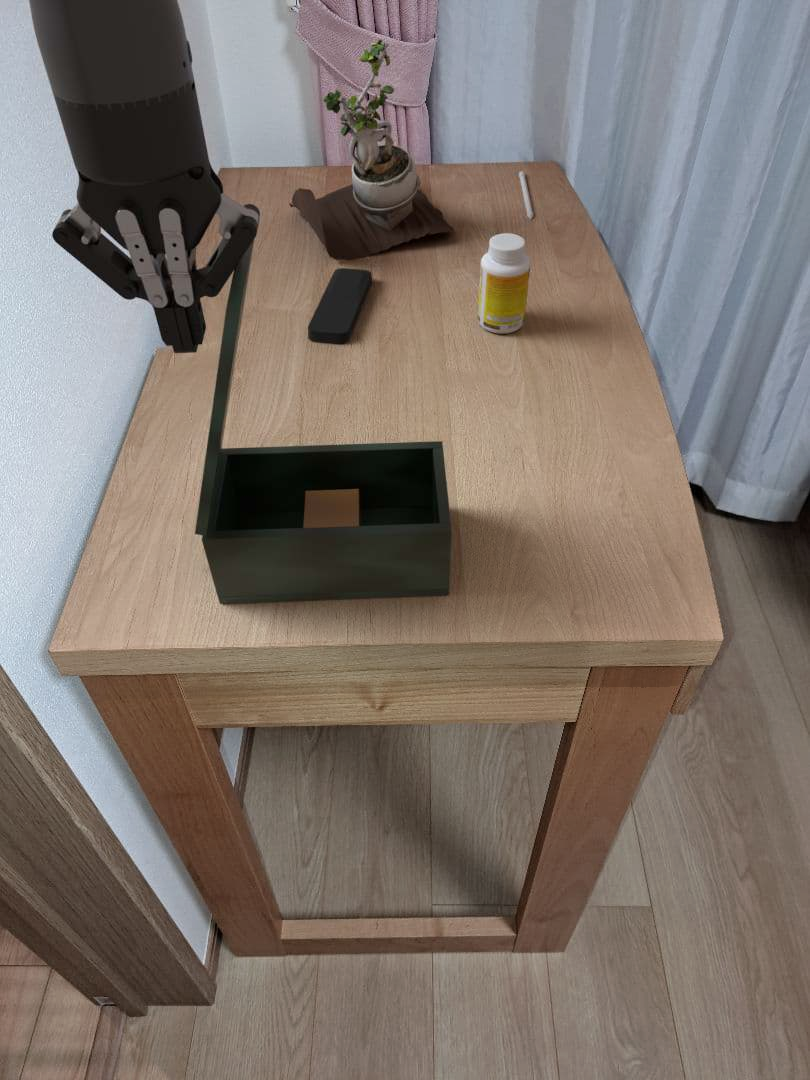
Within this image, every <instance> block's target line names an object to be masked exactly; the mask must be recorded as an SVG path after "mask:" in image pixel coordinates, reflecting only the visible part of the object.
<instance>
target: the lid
mask: <svg viewBox="0 0 810 1080" xmlns="http://www.w3.org/2000/svg"><path fill="white" fill-rule="evenodd" d="M254 244H255V239H254V240H253V242H252V243H251V245H250V246H249V248H248V249H247V251H246V252H245V254H244V255H243V257H242V259H241V260H240V262H239V263H238V265H237V266H236V268H235V269H234V271H233V272H232V278H231V283H230V287H229V291H228V292H229V293H228V296H227V302H226V306H225V313H224V319H223V320H224V322H223V328H222V336H221V343H220V350H219V357H218V365H217V369H216V370H217V371H216V378H215V386H214V392H213V398H212V399H213V400H212V407H211V416H210V420H209V429H208V434H207V443H206V448H205V449H206V450H205V457H204V465H203V470H202V471H203V472H202V477H201V486H200V493H199V501H198V507H197V513H196V514H197V515H196V522H195V528H194V535H197V536H202V535H203V536H206V533H207V527H208V521H209V516H210V510H211V504H212V499H213V493H214V487H215V482H216V476H217V471H218V465H219V459H220V454H221V448H223V440H224V435H225V429H226V422H227V416H228V410H229V404H230V396H231V391H232V390H231V389H232V384H233V377H234V372H235V371H234V370H235V365H236V358H237V352H238V346H239V340H240V333H241V326H242V320H243V314H244V307H245V302H246V301H245V300H246V294H247V288H248V283H249V276H250V270H251V263H252V262H251V261H252V256H253V252H254V251H253V249H254Z"/></svg>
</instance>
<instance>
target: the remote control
mask: <svg viewBox="0 0 810 1080" xmlns="http://www.w3.org/2000/svg"><path fill="white" fill-rule="evenodd" d="M373 282H374V281H373V274H372V272H371V271H370V270H368V269H359V268H348V267H346V268H345V267H343V268H342V267H340V268H336V269H335V270H334V271H333V273H332V275H331V277H330V279H329V281H328V283H327V286H326V288H325V290H324V291H323V294H322V295H321V298H320V300H319V302H318V305H317V307H316V309H315V310H314V313H313V315H312V317H311V319H310V321H309V324H308V326H307V336H308V337H307V339H309V341H312V342H320V343H329V344H345V343H348V342H349V341H350V339H351V336H352V334H353V332H354V329H355V327H356V324H357V322H358V319H359V316H360V315H361V312H362V310H363V307H364V304H365V302H366V300H367V298H368V295H369V292H370V290H371V287H372V284H373Z"/></svg>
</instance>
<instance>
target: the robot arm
mask: <svg viewBox="0 0 810 1080" xmlns="http://www.w3.org/2000/svg"><path fill="white" fill-rule="evenodd" d="M28 2H29V8H30V14H31V20H32V25H33V30H34V35H35V38H36V43H37V46H38V48H39V52H40V56H41V58H42V62H43V65H44V69H45V73H46V75H47V79H48V81H49V86H50V89H51V91H52V95H53V99H54V101H55V105H56V107H57V112H58V115H59V118H60V121H61V124H62V128H63V131H64V134H65V139H66V141H67V144H68V148H69V151H70V154H71V158H72V161H73V164H74V167H75V170H76V172H77V175H78V176H77V177H78V185H77V189H76V201H77V203H76V204H75V206H73V207H72V209H71V208H68V209H65V210H64V211H62V213H61V215H60V217H59V219H58V221H57V223H56V225H55V227H54V229H53V230H52V233H51V234H52V235H51V237H52V240H53V241H54V242H55V243H56V244H57V245H58V246H60V248H62V249H63V250H65V252H67V253H68V254H69V255H70V256H72V257H73V258H74V259H75V260H76V261H78V262H79V263H80V264H81V265H83V266H84V268H86V269H87V270H89V271H90V272H91V273H92V274H94V275H95V276H96V277H97V278H98V279H100V281H102V282H103V283H104V284H105V285H106V286H108V287H109V288H110V289H111V290H112V291H114V292H115V293H116V294H118V296H119V297H121V298H123V299H124V300H127V301H132V300H134V299H136V298H137V299H140V300H144V301H146V302H148V303H149V304H150V305H151V306H152V308H153V312H154V315H155V319H156V323H157V327H158V331H159V335H160V338H161V340H162V342H163V343H164V345H165V346H166V347H171V346H172V350H173V353H174V354H196V353H197V351H198V348H199V345H203V342H204V338H205V333H206V330H207V324H206V320H205V315H204V310H203V306H202V305H203V304H202V302H201V298H204V297H208V298H215V297H217V296H218V295H219V294H220V293H221V291H222V290H223V288H224V286H225V285H226V284H227V282H228V281H229V278H230V277H231V276H232V275H233V273H234V269H235V268H236V266H237V265H238V263H239V262H240V260H241V259H242V257H243V255H244V254H245V252H246V251H247V249H248V248H249V246H250V245H251V243H252V242H253V240H254V241H255V240H256V237H257V235H258V229H259V224H260V217H261V212H260V209H259V208H258V207H257V206H256V205H255V204H252V203H246V204H244V205H242V204H241V203H240V202H238V201H236V200H235V199H233V198H232V197H230V196H228V195H227V194H225V193H224V187H223V183H222V181H221V179H220V177H219V175H217V174H216V172H215V171H214V168H213V167H212V164H211V162H210V156H209V153H208V148H207V142H206V136H205V130H204V126H203V120H202V115H201V109H200V105H199V104H200V103H199V98H198V92H197V87H196V82H195V76H194V72H193V66H192V65H193V54H192V50H191V45H190V42H189V40H188V38H187V34H186V30H185V24H184V19H183V15H182V12H181V8H180V4H179V1H178V0H28ZM216 214H217V216H218V217H219V220H220V221H219V225H218V233H219V235H220V236H221V237H222V238H221V241H220V242H219V244H218V245H217V246H216V248H215V250H214V251H213V254H212V255H211V256H210V258H209V260H208V261H207V263H206V264H205V266H203V267H200V268H198V265H197V255H196V253H197V247H198V246H199V245H200V243H201V241H202V239H203V237H204V236H205V234H206V232H207V230H208V229H209V227H210V225H211V223H212V221H213V219H214V217H215V216H216ZM102 230H103V231H104V232H105V233H106V234H107V235H108V236H110V238H112V239H113V240H114V241H115V242H116V243H117V244H118V245H120V246H121V247H122V248H123V249H124V250H126V251H128V254H129V255H128V254H127V253H125V252H124V251H123V250H122V249H121V248H119V247H118V246H117V244H115V243H114V242H112V240H110V239H109V238H108V237H107V236H105V234H104V233H102Z"/></svg>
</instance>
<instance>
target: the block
mask: <svg viewBox="0 0 810 1080" xmlns="http://www.w3.org/2000/svg"><path fill="white" fill-rule="evenodd" d="M347 526H362V523H361V509H360V495H359V489H342V490H315V491H305V506H304V522H303V528H318V527H347Z"/></svg>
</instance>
